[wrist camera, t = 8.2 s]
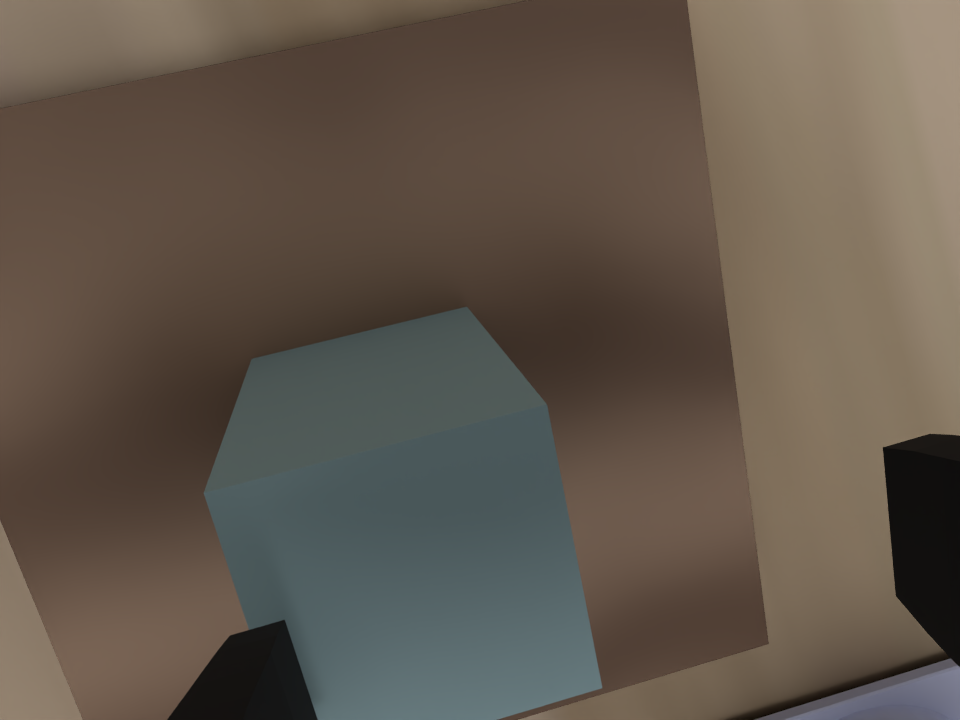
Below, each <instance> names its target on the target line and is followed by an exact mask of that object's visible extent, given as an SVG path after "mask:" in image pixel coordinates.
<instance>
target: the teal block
mask: <svg viewBox="0 0 960 720" xmlns="http://www.w3.org/2000/svg"><path fill="white" fill-rule="evenodd" d="M204 496H205V499H206V502H207V505H208V508H209V511H210V514H211V517H212V520H213V523H214V526H215V529H216V532H217V535H218V538H219V541H220V544H221V547H222V550H223V553H224V556H225V559H226V562H227V565H228V568H229V571H230V574H231V577H232V580H233V583H234V586H235V589H236V592H237V595H238V598H239V601H240V604H241V607H242V610H243V613H244V616H245V619H246V622H247V625H248V628H249V630H250V629H254V628H257V627H261V626H264V625H268V624H271V623H275V622H278V621H282V620H285V622H286V625H287V628H288V631H289V634H290V637H291V640H292V643H293V646H294V649H295V652H296V655H297V658H298V661H299V664H300V667H301V670H302V673H303V677H304V680H305V683H306V686H307V689H308V692H309V695H310V698H311V701H312V704H313V707H314V710H315V713H316V716H317V719H318V720H498V719H501V718H504V717H508V716H511V715H514V714H518V713H521V712H524V711H528V710H531V709H534V708H538V707H541V706H544V705H548V704H551V703H554V702H558V701H561V700H564V699H568V698H571V697H574V696H578V695H581V694H584V693H588V692H591V691H594V690H598V689H601V688H602V683H601V678H600V673H599V668H598V663H597V658H596V653H595V648H594V642H593V637H592V632H591V627H590V622H589V617H588V612H587V607H586V602H585V596H584V591H583V586H582V581H581V576H580V571H579V566H578V561H577V556H576V550H575V545H574V540H573V535H572V530H571V525H570V520H569V515H568V509H567V504H566V499H565V494H564V489H563V484H562V479H561V474H560V469H559V463H558V458H557V453H556V448H555V443H554V438H553V433H552V428H551V423H550V417H549V412H548V407H547V404H546V403H545V401H544V400H543V399H542V398H541V396H540V395H539V394H538V393H537V392H536V390H535V389H534V388H533V387H532V385H531V384H530V383H529V382H528V381H527V379H526V378H525V377H524V376H523V374H522V373H521V372H520V371H519V370H518V368H517V367H516V366H515V365H514V363H513V362H512V361H511V360H510V359H509V357H508V356H507V355H506V354H505V353H504V351H503V350H502V349H501V348H500V346H499V345H498V344H497V343H496V342H495V340H494V339H493V338H492V337H491V335H490V334H489V333H488V332H487V331H486V329H485V328H484V327H483V326H482V324H481V323H480V322H479V321H478V320H477V318H476V317H475V316H474V315H473V313H472V312H471V311H470V310H469V309H468V307H463V308H459V309H455V310H451V311H447V312H443V313H438V314H434V315H430V316H426V317H422V318H418V319H414V320H410V321H405V322H401V323H397V324H393V325H389V326H385V327H381V328H377V329H373V330H368V331H364V332H360V333H356V334H352V335H348V336H344V337H340V338H335V339H331V340H327V341H323V342H319V343H315V344H311V345H307V346H303V347H298V348H294V349H290V350H286V351H282V352H278V353H274V354H270V355H266V356H261V357H257V358H253V359H251V362H250V365H249V368H248V370H247V373H246V376H245V379H244V382H243V384H242V387H241V390H240V393H239V396H238V398H237V401H236V404H235V407H234V410H233V412H232V415H231V418H230V421H229V424H228V426H227V429H226V432H225V435H224V438H223V440H222V443H221V446H220V449H219V452H218V454H217V457H216V460H215V463H214V465H213V468H212V471H211V474H210V477H209V479H208V482H207V485H206V488H205V491H204Z"/></svg>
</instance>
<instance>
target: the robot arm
mask: <svg viewBox="0 0 960 720" xmlns="http://www.w3.org/2000/svg"><path fill="white" fill-rule="evenodd" d="M883 454H884V465H885V476H886V488H887V499H888V511H889V522H890V534H891V545H892V557H893V568H894V580H895V591H896V597H897V598H898V599H899V600H900V601H901V602H902V604H903V605H904V606H905V607H906V608H907V610H908V611H909V612H910V613H911V614H912V615H913V617H914V618H915V619H916V620H917V621H918V622H919V624H920V625H921V626H922V627H923V628H924V629H925V631H926V632H927V633H928V634H929V635H930V636H931V637H932V638H933V639H934V641H935V642H936V643H937V644H938V645H939V646H940V647H941V648H942V649H943V650H944V651H945V652H946V654H947V655H948V656H949V657H950V659H947V660H944V661H941V662H938V663H934V664H931V665H928V666H925V667H921V668H918V669H915V670H912V671H909V672H905V673H902V674H899V675H896V676H893V677H889V678H886V679H883V680H880V681H877V682H873V683H870V684H867V685H864V686H861V687H857V688H854V689H851V690H848V691H845V692H841V693H838V694H835V695H832V696H828V697H825V698H822V699H819V700H816V701H812V702H809V703H806V704H803V705H800V706H796V707H793V708H790V709H787V710H784V711H780V712H777V713H774V714H771V715H768V716H764V717H761V718H758V719H755V720H960V436H957V435H941V434H928V435H925V436H921V437H918V438H914V439H911V440H907V441H904V442H901V443H897V444H894V445H890V446H887V447H883ZM167 720H318V719H317V716H316V713H315V710H314V707H313V704H312V701H311V698H310V695H309V692H308V689H307V686H306V683H305V680H304V677H303V673H302V670H301V667H300V664H299V661H298V658H297V655H296V652H295V649H294V646H293V643H292V640H291V637H290V634H289V631H288V628H287V625H286V622H285V620H282V621H278V622H275V623H271V624H268V625H264V626H261V627H257V628H254V629H250V630H247V631H244V632H240V633H237V634H233V635H230V636H229V637H228V638H227V640H226V641H225V642H224V643H223V644H222V646H221V647H220V648H219V650H218V651H217V652H216V653H215V655H214V656H213V658H212V659H211V660H210V662H209V663H208V664H207V666H206V667H205V668H204V670H203V671H202V672H201V674H200V675H199V677H198V678H197V679H196V681H195V682H194V684H193V685H192V686H191V688H190V689H189V690H188V692H187V693H186V695H185V696H184V697H183V699H182V700H181V701H180V703H179V704H178V706H177V707H176V708H175V710H174V711H173V712H172V714H171V715H170V716H169V718H168V719H167Z"/></svg>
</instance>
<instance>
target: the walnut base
mask: <svg viewBox="0 0 960 720" xmlns="http://www.w3.org/2000/svg"><path fill="white" fill-rule="evenodd" d="M463 307H468V309H469V310H470V311H471V312H472V313H473V315H474V316H475V317H476V318H477V320H478V321H479V322H480V323H481V324H482V326H483V327H484V328H485V329H486V331H487V332H488V333H489V334H490V335H491V337H492V338H493V339H494V340H495V342H496V343H497V344H498V345H499V346H500V348H501V349H502V350H503V351H504V353H505V354H506V355H507V356H508V357H509V359H510V360H511V361H512V362H513V363H514V365H515V366H516V367H517V368H518V370H519V371H520V372H521V373H522V374H523V376H524V377H525V378H526V379H527V381H528V382H529V383H530V384H531V385H532V387H533V388H534V389H535V390H536V392H537V393H538V394H539V395H540V396H541V398H542V399H543V400H544V401H545V403H546V404H547V407H548V412H549V417H550V423H551V428H552V433H553V438H554V443H555V448H556V453H557V458H558V463H559V469H560V474H561V479H562V484H563V489H564V494H565V499H566V504H567V509H568V515H569V520H570V525H571V530H572V535H573V540H574V545H575V550H576V556H577V561H578V566H579V571H580V576H581V581H582V586H583V591H584V596H585V602H586V607H587V612H588V617H589V622H590V627H591V632H592V637H593V642H594V648H595V653H596V658H597V663H598V668H599V673H600V678H601V683H602V688H601V689H598V690H594V691H591V692H588V693H584V694H581V695H578V696H574V697H571V698H568V699H564V700H561V701H558V702H554V703H551V704H548V705H544V706H541V707H538V708H534V709H531V710H528V711H524V712H521V713H518V714H514V715H511V716H508V717H504V718H501V719H498V720H518V719H521V718H524V717H528V716H531V715H534V714H538V713H541V712H544V711H548V710H551V709H554V708H558V707H561V706H564V705H568V704H571V703H574V702H578V701H581V700H584V699H587V698H591V697H594V696H597V695H601V694H604V693H607V692H611V691H614V690H617V689H621V688H624V687H627V686H631V685H634V684H637V683H640V682H644V681H647V680H650V679H654V678H657V677H660V676H664V675H667V674H670V673H674V672H677V671H680V670H684V669H687V668H690V667H693V666H697V665H700V664H703V663H707V662H710V661H713V660H717V659H720V658H723V657H727V656H730V655H733V654H737V653H740V652H743V651H746V650H750V649H753V648H756V647H760V646H763V645H766V644H769V643H768V635H767V627H766V619H765V612H764V604H763V596H762V588H761V580H760V572H759V564H758V557H757V549H756V541H755V533H754V525H753V517H752V509H751V501H750V494H749V486H748V478H747V470H746V462H745V454H744V446H743V439H742V431H741V423H740V415H739V407H738V399H737V391H736V384H735V376H734V368H733V360H732V352H731V344H730V336H729V328H728V321H727V313H726V305H725V297H724V289H723V281H722V273H721V266H720V258H719V250H718V242H717V234H716V226H715V218H714V210H713V203H712V195H711V187H710V179H709V171H708V163H707V155H706V148H705V140H704V132H703V124H702V116H701V108H700V100H699V92H698V85H697V77H696V69H695V61H694V53H693V45H692V37H691V30H690V22H689V14H688V6H687V0H528V1H523V2H518V3H513V4H508V5H503V6H498V7H493V8H489V9H484V10H479V11H474V12H469V13H464V14H459V15H454V16H449V17H445V18H440V19H435V20H430V21H425V22H420V23H415V24H410V25H406V26H401V27H396V28H391V29H386V30H381V31H376V32H371V33H367V34H362V35H357V36H352V37H347V38H342V39H337V40H332V41H328V42H323V43H318V44H313V45H308V46H303V47H298V48H293V49H289V50H284V51H279V52H274V53H269V54H264V55H259V56H254V57H249V58H245V59H240V60H235V61H230V62H225V63H220V64H215V65H210V66H206V67H201V68H196V69H191V70H186V71H181V72H176V73H171V74H167V75H162V76H157V77H152V78H147V79H142V80H137V81H132V82H128V83H123V84H118V85H113V86H108V87H103V88H98V89H93V90H89V91H84V92H79V93H74V94H69V95H64V96H59V97H54V98H49V99H45V100H40V101H35V102H30V103H25V104H20V105H15V106H10V107H6V108H1V109H0V520H1V523H2V525H3V528H4V530H5V532H6V535H7V537H8V540H9V542H10V545H11V547H12V549H13V552H14V554H15V557H16V559H17V561H18V564H19V566H20V569H21V571H22V573H23V576H24V578H25V581H26V583H27V586H28V588H29V590H30V593H31V595H32V598H33V600H34V602H35V605H36V607H37V610H38V612H39V615H40V617H41V619H42V622H43V624H44V627H45V629H46V631H47V634H48V636H49V639H50V641H51V643H52V646H53V648H54V651H55V653H56V656H57V658H58V660H59V663H60V665H61V668H62V670H63V672H64V675H65V677H66V680H67V682H68V684H69V687H70V689H71V692H72V694H73V697H74V699H75V701H76V704H77V706H78V709H79V711H80V713H81V716H82V718H83V720H167V719H168V718H169V716H170V715H171V714H172V712H173V711H174V710H175V708H176V707H177V706H178V704H179V703H180V701H181V700H182V699H183V697H184V696H185V695H186V693H187V692H188V690H189V689H190V688H191V686H192V685H193V684H194V682H195V681H196V679H197V678H198V677H199V675H200V674H201V672H202V671H203V670H204V668H205V667H206V666H207V664H208V663H209V662H210V660H211V659H212V658H213V656H214V655H215V653H216V652H217V651H218V650H219V648H220V647H221V646H222V644H223V643H224V642H225V641H226V640H227V638H228V637H229V636H230V635H233V634H237V633H240V632H244V631H247V630H249V628H248V625H247V622H246V619H245V616H244V613H243V610H242V607H241V604H240V601H239V598H238V595H237V592H236V589H235V586H234V583H233V580H232V577H231V574H230V571H229V568H228V565H227V562H226V559H225V556H224V553H223V550H222V547H221V544H220V541H219V538H218V535H217V532H216V529H215V526H214V523H213V520H212V517H211V514H210V511H209V508H208V505H207V502H206V499H205V496H204V491H205V488H206V485H207V482H208V479H209V477H210V474H211V471H212V468H213V465H214V463H215V460H216V457H217V454H218V452H219V449H220V446H221V443H222V440H223V438H224V435H225V432H226V429H227V426H228V424H229V421H230V418H231V415H232V412H233V410H234V407H235V404H236V401H237V398H238V396H239V393H240V390H241V387H242V384H243V382H244V379H245V376H246V373H247V370H248V368H249V365H250V362H251V359H253V358H257V357H261V356H266V355H270V354H274V353H278V352H282V351H286V350H290V349H294V348H298V347H303V346H307V345H311V344H315V343H319V342H323V341H327V340H331V339H335V338H340V337H344V336H348V335H352V334H356V333H360V332H364V331H368V330H373V329H377V328H381V327H385V326H389V325H393V324H397V323H401V322H405V321H410V320H414V319H418V318H422V317H426V316H430V315H434V314H438V313H443V312H447V311H451V310H455V309H459V308H463Z"/></svg>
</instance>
